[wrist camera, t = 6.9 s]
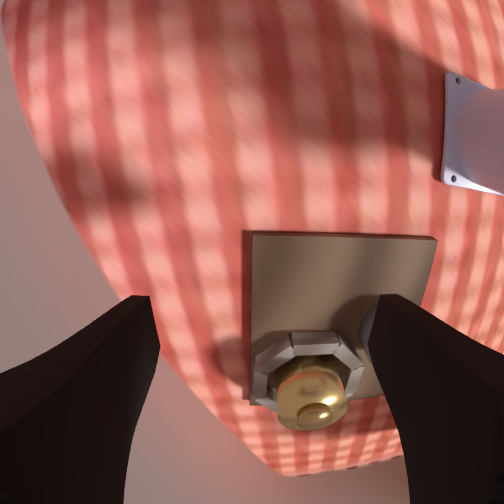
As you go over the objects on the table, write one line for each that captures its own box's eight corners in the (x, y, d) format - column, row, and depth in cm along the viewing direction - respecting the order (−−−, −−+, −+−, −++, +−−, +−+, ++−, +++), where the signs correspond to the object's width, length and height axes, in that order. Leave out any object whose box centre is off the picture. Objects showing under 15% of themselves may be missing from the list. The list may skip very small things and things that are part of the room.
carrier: (433, 237, 18) (461, 258, 15) (382, 391, 24) (393, 418, 21) (252, 232, 18) (252, 256, 15) (249, 400, 24) (249, 431, 21)
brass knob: (333, 341, 21) (350, 392, 16) (337, 381, 23) (350, 429, 18) (268, 355, 21) (272, 409, 17) (280, 394, 23) (284, 443, 18)
